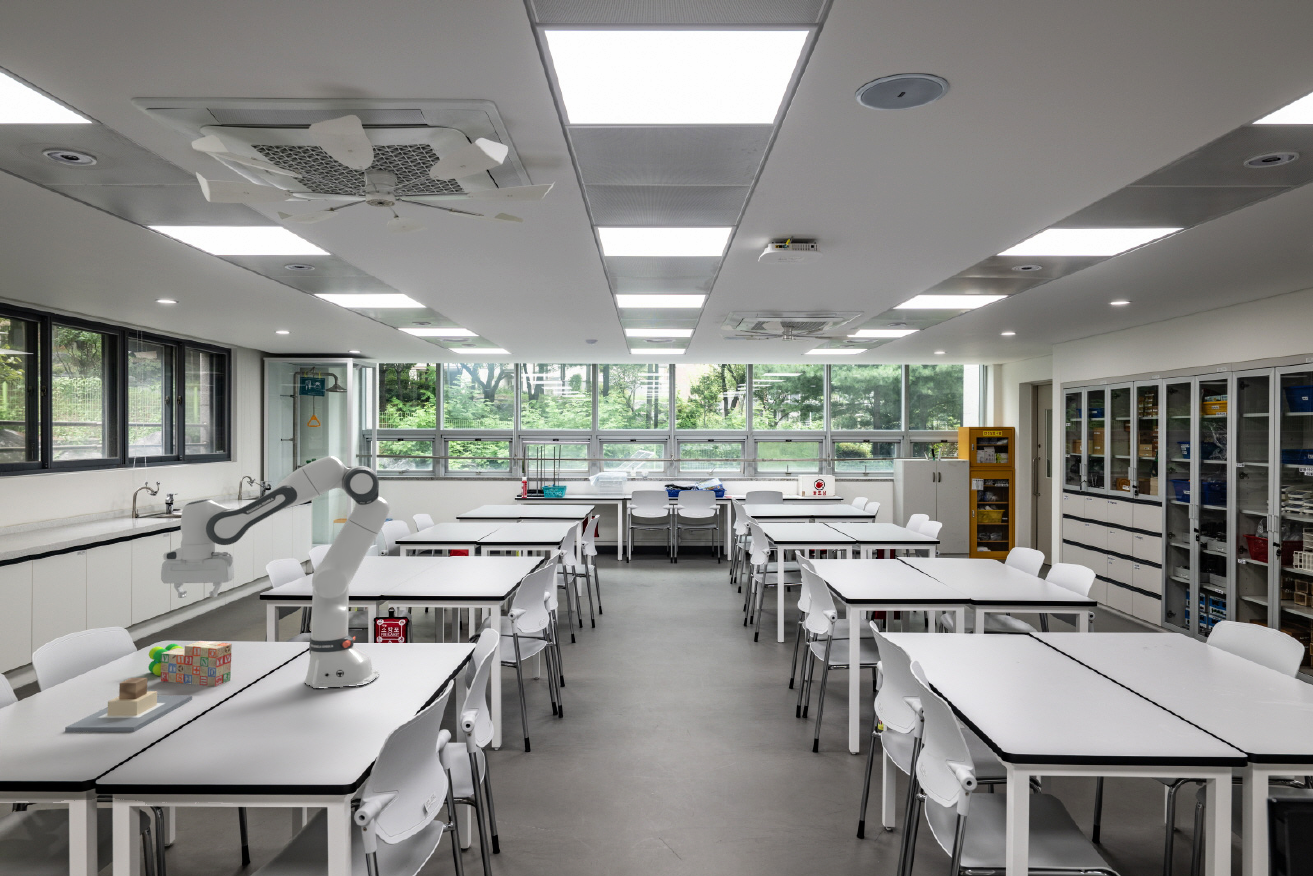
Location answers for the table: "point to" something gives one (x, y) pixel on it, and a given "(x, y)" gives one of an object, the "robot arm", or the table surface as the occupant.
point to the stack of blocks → (198, 664)
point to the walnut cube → (133, 688)
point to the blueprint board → (126, 722)
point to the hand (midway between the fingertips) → (197, 597)
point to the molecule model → (159, 657)
